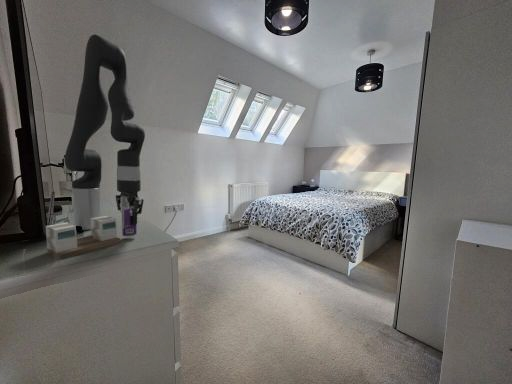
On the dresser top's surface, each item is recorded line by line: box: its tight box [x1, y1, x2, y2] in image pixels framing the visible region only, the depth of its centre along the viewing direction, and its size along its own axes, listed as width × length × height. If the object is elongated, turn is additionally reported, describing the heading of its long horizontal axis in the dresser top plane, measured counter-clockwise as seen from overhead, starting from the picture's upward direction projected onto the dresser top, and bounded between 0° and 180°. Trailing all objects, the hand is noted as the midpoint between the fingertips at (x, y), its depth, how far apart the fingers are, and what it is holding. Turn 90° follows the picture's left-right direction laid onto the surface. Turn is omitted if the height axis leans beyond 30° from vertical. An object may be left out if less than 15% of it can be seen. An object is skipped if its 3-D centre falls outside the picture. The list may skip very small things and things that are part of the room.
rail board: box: [45, 215, 121, 260], centre depth 71 cm, size 9×17×8 cm, turn 152°
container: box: [121, 195, 138, 237], centre depth 81 cm, size 5×5×15 cm
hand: (129, 223), depth 81 cm, fingers closed on container, 4 cm apart
